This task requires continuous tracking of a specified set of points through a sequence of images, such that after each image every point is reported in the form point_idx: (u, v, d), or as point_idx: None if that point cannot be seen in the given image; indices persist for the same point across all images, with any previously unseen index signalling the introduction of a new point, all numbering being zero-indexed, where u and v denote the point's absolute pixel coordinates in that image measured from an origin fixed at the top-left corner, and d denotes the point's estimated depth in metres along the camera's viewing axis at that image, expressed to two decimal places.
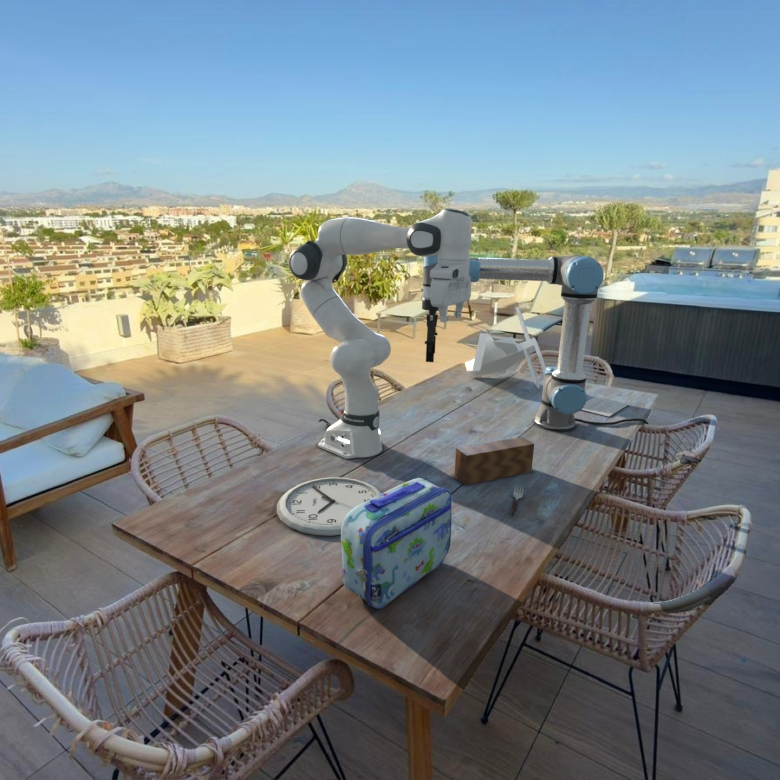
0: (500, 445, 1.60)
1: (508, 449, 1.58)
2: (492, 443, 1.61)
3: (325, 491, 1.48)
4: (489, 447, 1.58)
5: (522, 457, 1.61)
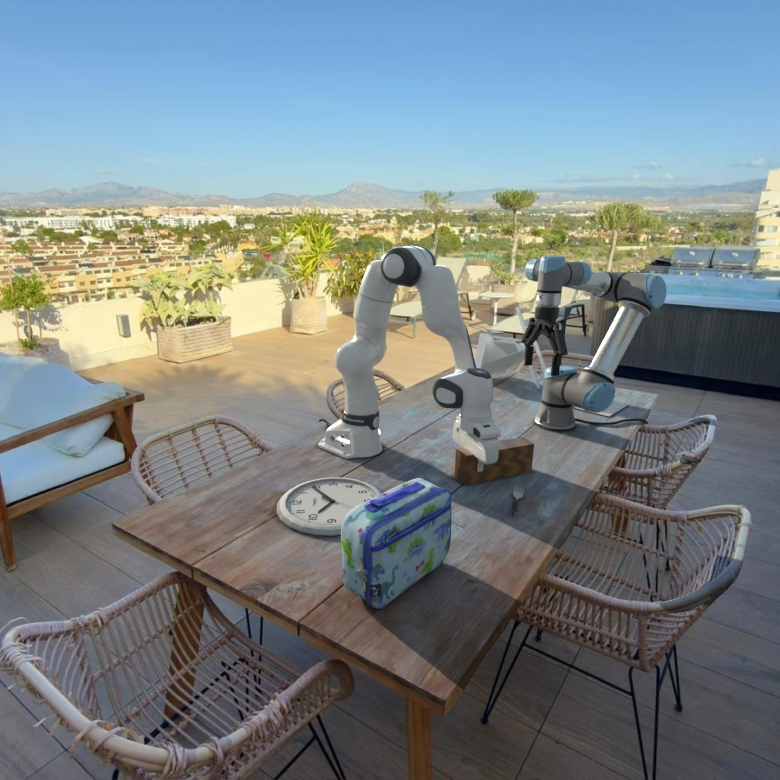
0: (500, 445, 1.60)
1: (508, 449, 1.58)
2: None
3: (325, 491, 1.48)
4: None
5: (522, 457, 1.61)
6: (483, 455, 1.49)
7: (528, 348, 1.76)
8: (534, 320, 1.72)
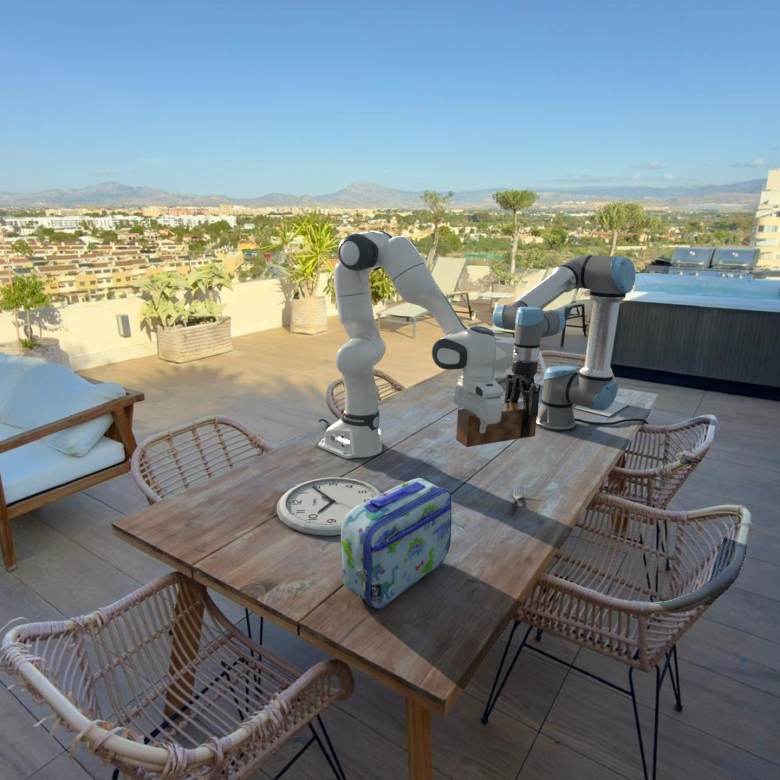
0: (503, 408, 1.56)
1: (512, 412, 1.55)
2: None
3: (325, 491, 1.48)
4: None
5: None
6: (485, 414, 1.45)
7: None
8: (511, 376, 1.61)
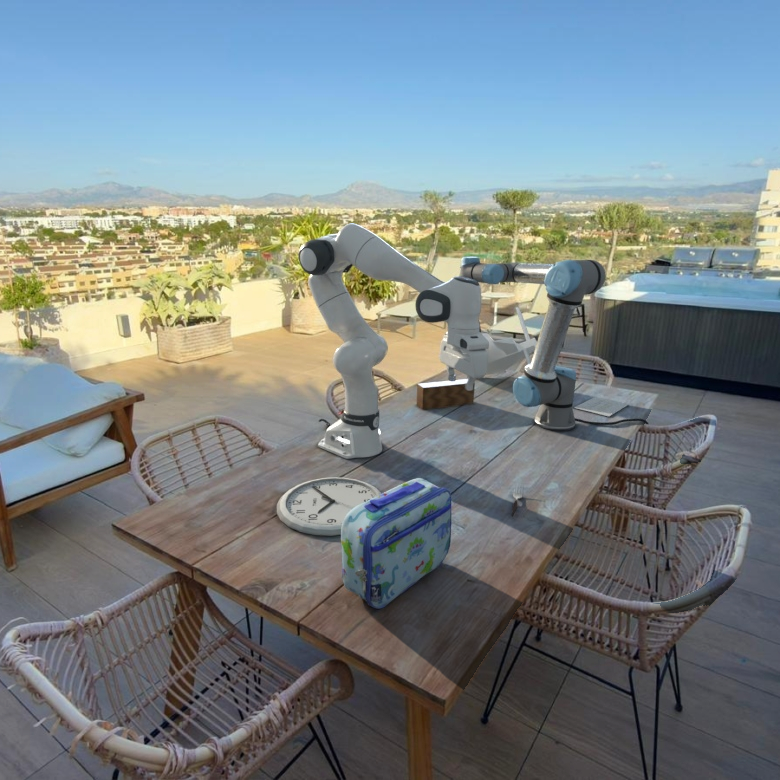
0: (449, 383, 2.23)
1: (455, 385, 2.21)
2: (444, 382, 2.25)
3: (325, 491, 1.48)
4: (441, 384, 2.21)
5: (466, 392, 2.24)
6: (470, 368, 1.39)
7: None
8: None
